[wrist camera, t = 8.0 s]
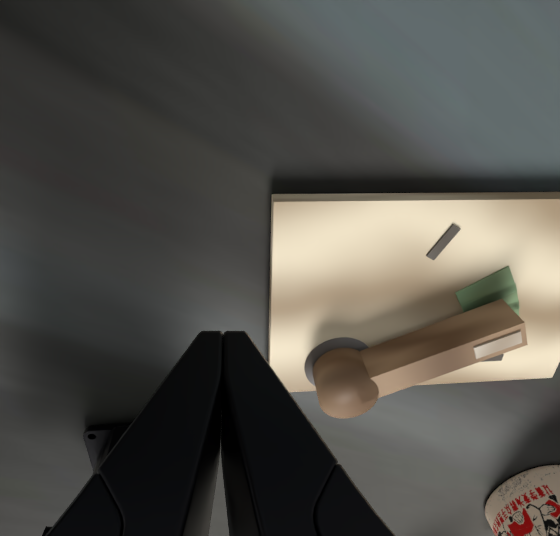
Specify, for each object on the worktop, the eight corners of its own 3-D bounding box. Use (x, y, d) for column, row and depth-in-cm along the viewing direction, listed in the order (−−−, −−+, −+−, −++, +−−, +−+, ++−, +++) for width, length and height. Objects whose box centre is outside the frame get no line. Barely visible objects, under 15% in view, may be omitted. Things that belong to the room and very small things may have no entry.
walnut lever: (322, 396, 26) (330, 427, 24) (304, 360, 24) (311, 389, 22) (506, 330, 24) (530, 356, 22) (500, 287, 23) (524, 311, 21)
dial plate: (542, 366, 28) (553, 378, 27) (267, 381, 26) (269, 394, 25) (620, 191, 22) (637, 199, 21) (271, 194, 20) (273, 202, 19)
